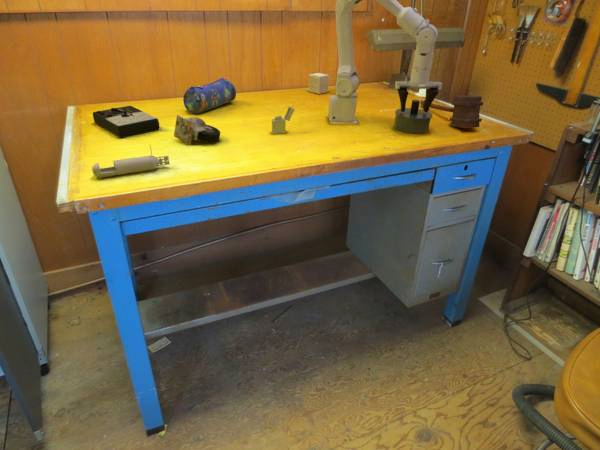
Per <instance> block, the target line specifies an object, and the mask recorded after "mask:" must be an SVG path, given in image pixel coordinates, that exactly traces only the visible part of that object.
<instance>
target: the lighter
mask: <svg viewBox="0 0 600 450" xmlns="http://www.w3.org/2000/svg"><path fill="white" fill-rule="evenodd" d="M294 112H295V108H294V107H293V106H288V108H287V110H286V112H285V115H284V117H283V116H282V115H276V116H274V118H272V119H271V133H272V135H280V134H285V133H286V127H287V125H286V123H287V122H286V121H288V122H290V121H291V119H292V116H293V114H294Z"/></svg>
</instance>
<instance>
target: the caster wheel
mask: <svg viewBox="0 0 600 450" xmlns="http://www.w3.org/2000/svg"><path fill="white" fill-rule="evenodd" d="M174 125H175V126H174V131H173V137H174V138H176V139H178V140H180V141H181V142H183V143H186V144H187V145H189V146H191V144H192V140H195V141H200V142H204V143H209V144H214V143H215V144H216V143H218V142H219V141H220V137H221V131H220V130H219V128H216V127H215V126H212V125H209V124H207V123H206V122H205V121H204V120H203V119H202V118H200V117H197V116H192V117H185V118H184V117H183V116H180V115H179V114H176V119H175V124H174Z"/></svg>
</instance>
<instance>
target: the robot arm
mask: <svg viewBox="0 0 600 450" xmlns="http://www.w3.org/2000/svg"><path fill="white" fill-rule="evenodd" d="M362 1H363V0H336V3H335V7H334V11H335V13H334V14H335V27H336V43H337V56H338V69H337V72H336V82H335V85H334V89H335V94H331V95H329V99H328V109H327V111H328V112H327V118H328V121H329V123H331V124H358V121H357V119H356V113H357V104H358V96H359V95H358V92H357V90H358V89H359V87H360V86H361V85H360V84H361V81H360V80H361V79H360V77H359V75H358V71H357V67H356V64H355V48H354V47H355V46H354V29H353V28H354V27H353V11H354V10H355V8H356V7H357V6H358V4H360V2H362ZM375 1H376V2H377V3H379V4H380V5H381V6H382V7H383V8H384V9H386V10H387V11H389V13H391V14H392V15H393V16H394V17H396V24H397V25H398V26H399V27H400V28H401V29H402V30H403V31H405V32H406V33H407V34H408V35H409V36H410V37H411V38H414V39H415V42H416V46H415V51H414V55H413V59H412V66H411V73H410V79H409V80H396V81H395V85H394V88H395V89H397V94H398V97H399V104H400V109H401V111H402V112H405V108H406V105H407V101H408V96H409V91H408V89H412V90H413V89H415V90H416V89H419V90H425V99H424V100H425V104H424V107H423V109H422V110H423V111H425V112H429V109H430V105H431V103H432V104H433V102H434V100H435V99H436V98H437V96H438V95H439V93H440V91H439V90H442V88H443V83H442V82H441V81H432V80H431V81H430V76H431V71H432V65H433V60H434V55H435V53H434V51H435V46H436V44H435V43H436V41H437V39H438V36H439V32H438V29H437V27H436V26H435V25H434V24H432V23H430V20H429V19H428V18H427V19H425V18H424V17H423V16H421V14H419V13H418V9H417V8H416V7H414V8H412V6H406V7H404V6H403V5H402V4H401V3H400V2H399V1H398V0H375Z"/></svg>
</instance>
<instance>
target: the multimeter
mask: <svg viewBox="0 0 600 450" xmlns="http://www.w3.org/2000/svg"><path fill="white" fill-rule="evenodd" d="M92 118H93V121H94V123H95V124H96V125H98V126H99V127H101V128H102V129H105V130H106V131H108V132H109V133H111V134H113V135H114V136H117V137H118V138H120V139H121V138H122V139H123V138H127V137H131V136H135V135H141V134H145V133H149V132H153V131H158V130H159V129H160V123H159V119H158V118H157V117H155V116H154V115H151V114H150V113H147V112H146V111H143V110H141V109H139V108H137V107H135V106H133V105H125V106H120V107H111V108H108V109H104V110H96V111H93V112H92Z"/></svg>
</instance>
